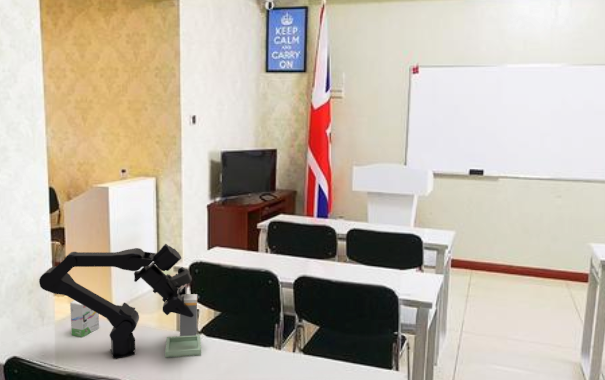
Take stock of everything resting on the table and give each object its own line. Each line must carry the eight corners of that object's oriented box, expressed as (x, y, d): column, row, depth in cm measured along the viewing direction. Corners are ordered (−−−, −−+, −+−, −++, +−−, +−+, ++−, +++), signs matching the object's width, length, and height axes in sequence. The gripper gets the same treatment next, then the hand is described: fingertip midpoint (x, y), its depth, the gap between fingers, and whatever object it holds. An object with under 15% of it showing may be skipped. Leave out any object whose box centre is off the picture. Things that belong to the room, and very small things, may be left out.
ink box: (82, 337, 173) (81, 304, 171) (70, 335, 174) (69, 302, 173) (100, 327, 181) (98, 296, 179) (88, 325, 182) (87, 294, 181)
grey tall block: (179, 336, 162) (180, 300, 161) (180, 329, 167) (181, 294, 166) (196, 335, 163) (196, 299, 162) (196, 328, 168) (197, 294, 167)
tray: (165, 358, 160) (165, 352, 160) (166, 342, 171) (166, 336, 171) (200, 355, 163) (200, 349, 163) (200, 340, 173) (200, 334, 173)
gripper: (174, 272, 152) (211, 306, 156) (178, 254, 170) (211, 286, 174) (146, 297, 152) (184, 331, 156) (154, 277, 170) (187, 308, 174)
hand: (193, 313), depth 165 cm, fingers closed on grey tall block, 5 cm apart
